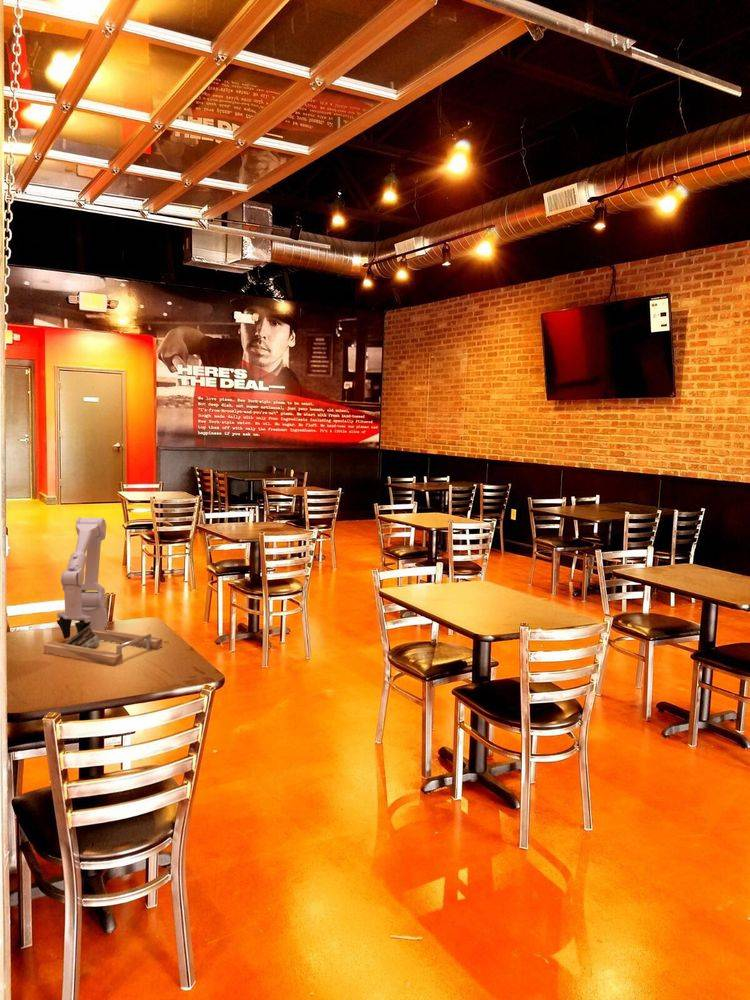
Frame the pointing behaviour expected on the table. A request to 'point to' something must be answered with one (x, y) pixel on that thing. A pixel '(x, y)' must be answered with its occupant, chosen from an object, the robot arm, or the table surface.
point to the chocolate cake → (84, 639)
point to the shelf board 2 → (125, 638)
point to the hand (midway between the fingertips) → (74, 639)
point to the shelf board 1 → (84, 653)
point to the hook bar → (148, 637)
